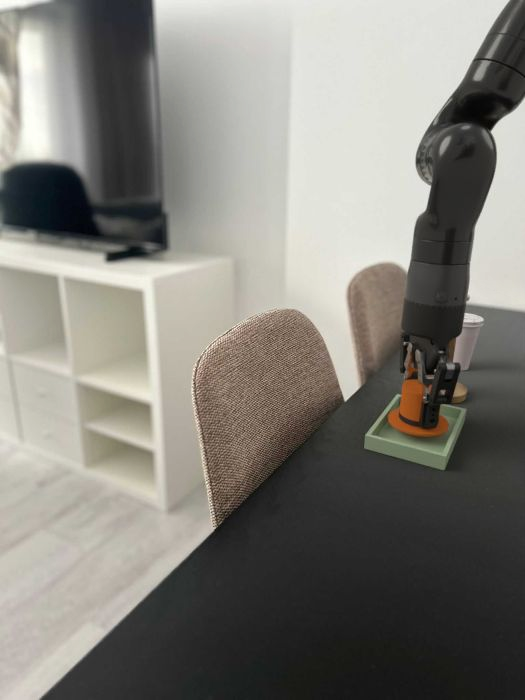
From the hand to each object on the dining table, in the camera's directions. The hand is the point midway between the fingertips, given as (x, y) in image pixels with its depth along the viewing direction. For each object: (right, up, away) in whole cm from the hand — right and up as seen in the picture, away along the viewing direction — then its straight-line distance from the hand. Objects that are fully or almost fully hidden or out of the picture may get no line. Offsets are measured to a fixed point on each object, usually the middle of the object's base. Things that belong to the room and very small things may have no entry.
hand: (419, 416), depth 70 cm
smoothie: (+15, +6, +26) cm, 30 cm away
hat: (0, -1, 0) cm, 1 cm away
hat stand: (+8, +2, +14) cm, 16 cm away
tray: (0, -3, +1) cm, 3 cm away
